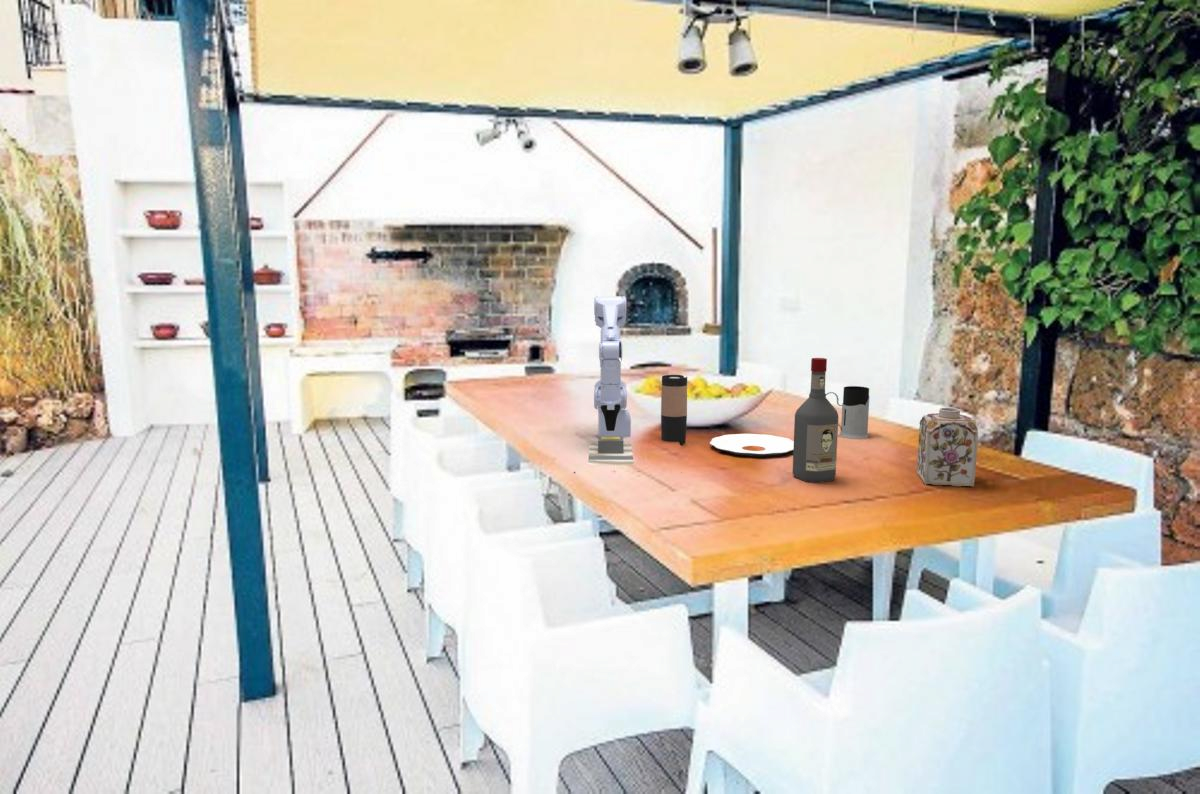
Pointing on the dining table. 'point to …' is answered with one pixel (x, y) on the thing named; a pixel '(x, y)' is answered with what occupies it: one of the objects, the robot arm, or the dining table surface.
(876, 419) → the dining table surface
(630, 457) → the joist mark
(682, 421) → the travel mug
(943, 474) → the decorative jar
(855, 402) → the glass holder
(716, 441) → the plate
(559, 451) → the dining table surface
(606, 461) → the subfloor plank
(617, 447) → the block
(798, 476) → the liquor
